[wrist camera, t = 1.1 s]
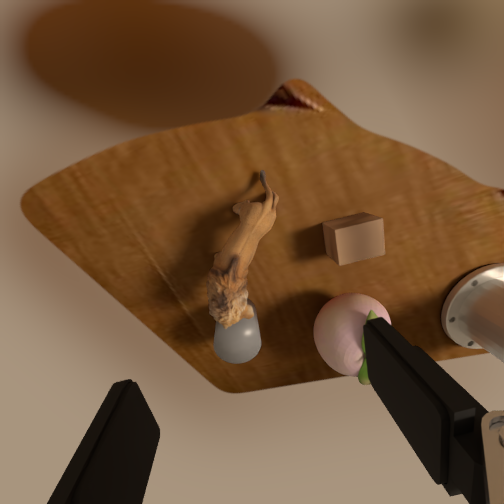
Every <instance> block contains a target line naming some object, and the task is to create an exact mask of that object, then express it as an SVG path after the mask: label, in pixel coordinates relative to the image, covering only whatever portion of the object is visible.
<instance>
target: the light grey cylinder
mask: <svg viewBox="0 0 504 504" xmlns="http://www.w3.org/2000/svg"><path fill="white" fill-rule="evenodd" d="M247 303H248V304H249V305H251V306H252V308H253V312H254V316H253V317H252V318H251V319H246V318H242V319H241V320H239V322H236V323H235V324H232V325H231V326H230V327H228V328H227V329H224V327H223V325H222V324H220V323H219V322H218V321H216V327H215V336H214V350H215V352H216V354H217V355H218V356H219V357H220V358H221V359H222V360H224V361H226V362H229V363H244V362H247V361H249V360H251V359H252V358H254V357H255V356H256V355H257V354H258V352H259V350H260V348H261V337H260V331H259V325H258V319H257V313H256V308H255V305H254V304H253V302H252V301H251V300H249V299H248V298H247Z"/></svg>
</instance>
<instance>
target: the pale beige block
mask: <svg viewBox="0 0 504 504" xmlns="http://www.w3.org/2000/svg"><path fill="white" fill-rule="evenodd" d="M322 226H323V233H324V240H325V247H326V254H327V255H328V256H329V257H330V258H331V259H333V260H334V261H335V262H336V263H337V264H338V265H339V266H340V265H344V264H349V263H353V262H357V261H361V260H365V259H369V258H373V257H377V256H381V255H385V244H384V228H383V218H380V217H377V216H374V215H371V214H368V213H364V212H363V213H359V214H355V215H351V216H347V217H343V218H339V219H335V220H330V221H326V222H322Z"/></svg>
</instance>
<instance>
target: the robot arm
mask: <svg viewBox="0 0 504 504" xmlns="http://www.w3.org/2000/svg"><path fill="white" fill-rule="evenodd" d="M441 321H442V327H443V329H444V331H445V333H446V334H447V335H448V337H449V338H451V339H452V340H453V341H454V342H456V343H457V344H459V345H461V346H463V347H466V348H473V349H479V348H484V349H485V350H487V351H488V352H489V353H491V354H492V355H494V356H495V357H497V358H498V359H500V360H501V361H502V362H504V263H499V264H492V265H487V266H484V267H482V268H479V269H477V270H475V271H473V272H472V273H470V274H468V275H467V276H466V277H464V278H463V279H462V280H461V281H459V282H458V283H457V285H456V286H455V287H454V288H453V289H452V290H451V292H450V293H449V295H448V296H447V298H446V300H445V303H444V305H443V309H442V315H441ZM363 333H364V343H365V353H366V363H367V373H368V378H369V381H370V383H371V385H372V387H373V388H374V390H375V391H376V393H377V394H378V396H379V397H380V399H381V400H382V402H383V403H384V405H385V407H386V408H387V410H388V411H389V413H390V414H391V416H392V418H393V419H394V421H395V422H396V424H397V425H398V426H399V428H400V430H401V431H402V433H403V434H404V436H405V438H406V439H407V440H408V442H409V444H410V445H411V447H412V448H413V450H414V451H415V453H416V454H417V456H418V457H419V459H420V461H421V462H422V463H423V465H424V466H425V468H426V470H427V471H428V473H429V474H430V476H431V477H432V479H433V480H434V481H435V483H436V484H438V485H439V484H442V485H443V486H444V488H445V489H446V491H447V492H448V494H449V495H450V496H454V495H458V494H463V495H464V497H465V498H466V500H467V501H468V502H469V504H504V411H491V412H488V411H487V410H486V409H485V408H484V407H483V406H482V405H480V403H479V402H477V401H476V400H475V399H474V398H473V397H472V396H471V395H470V394H469V393H468V392H467V391H466V390H465V389H464V388H463V387H462V386H460V385H459V384H458V383H457V382H456V381H455V380H454V379H453V378H452V377H451V376H450V375H449V374H448V373H446V372H445V370H444V369H442V368H441V367H440V366H439V365H438V364H437V363H436V362H435V361H434V360H433V359H432V358H431V357H430V356H429V355H428V354H427V353H425V352H424V351H423V350H422V349H421V348H420V347H418V346H412V345H411V344H410V343H409V342H408V341H407V340H406V339H405V338H404V337H403V336H402V335H401V334H400V333H399V332H398V331H397V330H396V329H394V328H393V327H392V326H391V325H390V324H389V323H388V322H387V321H386V320H385V319H384V318H383V317H378V318H374V319H370V320H367V322H366V325H363ZM159 438H160V428H159V426H158V424H157V422H156V420H155V418H154V416H153V414H152V412H151V410H150V408H149V406H148V404H147V402H146V400H145V398H144V396H143V394H142V392H141V390H140V388H139V386H138V384H137V383H136V382H133V381H132V380H131V379H128V380H124V381H120V382H116V383H114V384H113V385H112V387H111V389H110V391H109V392H108V394H107V396H106V398H105V400H104V401H103V403H102V405H101V407H100V409H99V410H98V412H97V414H96V416H95V418H94V419H93V421H92V423H91V425H90V427H89V428H88V430H87V432H86V434H85V436H84V437H83V439H82V441H81V443H80V445H79V447H78V448H77V450H76V452H75V454H74V456H73V457H72V459H71V461H70V463H69V465H68V466H67V468H66V470H65V472H64V474H63V475H62V477H61V479H60V481H59V483H58V484H57V486H56V488H55V490H54V492H53V493H52V495H51V497H50V499H49V501H48V503H47V504H142V502H143V498H144V494H145V490H146V486H147V483H148V480H149V476H150V472H151V468H152V464H153V461H154V457H155V453H156V449H157V446H158V442H159Z"/></svg>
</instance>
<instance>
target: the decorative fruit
mask: <svg viewBox="0 0 504 504" xmlns="http://www.w3.org/2000/svg"><path fill="white" fill-rule="evenodd" d="M378 317H383V318H384V319H385V320H386V321H387V322H388V323H389V324H390V325H391V321H390V317H389V315H388V312H387V311H386V309H385V308H384V307H383V305H381V304H380V303H379V302H378V301H377V300H375V299H373V298H371V297H369V296H367V295H363V294H358V293H346V294H342V295H339V296H336V297H334V298H333V299H331V300H330V301H328V302H327V303H326V304H325V305H324V306H323V307H322V309H321V310H320V312H319V313H318V315H317V317H316V320H315V323H314V341H315V344H316V347H317V350H318V351H319V353H320V355H321V356H322V358H323V359H324V361H325V362H326V363H327V364H328V365H329V366H330V367H331V368H332V369H334V370H335V371H337V372H339V373H341V374H344V375H348V376H357V377H358V379H359V382H360V383H361V384H363V385H368V384H371V383H370V381H369V378H368V373H367V363H366V353H365V343H364V333H363V325H366V322H367V320H370V319H374V318H378Z"/></svg>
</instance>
